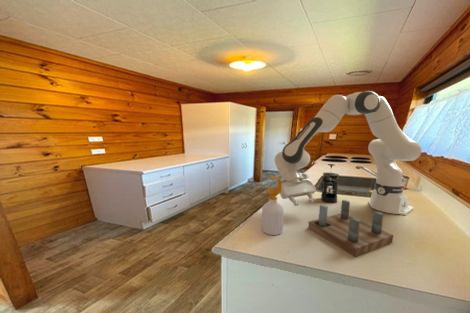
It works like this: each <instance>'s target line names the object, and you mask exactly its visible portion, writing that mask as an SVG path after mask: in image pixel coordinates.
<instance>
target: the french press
mask: <svg viewBox="0 0 470 313" xmlns="http://www.w3.org/2000/svg"><path fill="white" fill-rule="evenodd" d="M327 165H328V166H329V167H330V169H332V168H333V166H336V164H333V163H328V164H327ZM322 176H323V178H324V177H329V179H324V180H323V179H322V181H321V184H322V187H321V195H320V196H321V197H320V201H322V202H323V203H327V204H337V203H338V186H339V181H337V180H338V179H339V176H340V174H338V173H334V172H323V173H322ZM331 179H332V180H331ZM331 187H332V188H331Z"/></svg>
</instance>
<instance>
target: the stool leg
mask: <svg viewBox="0 0 470 313" xmlns="http://www.w3.org/2000/svg"><path fill="white" fill-rule="evenodd" d="M328 210H329V207H328V206H327V205H325V204H320V205H319V210H318V211H319V214H318V219H319V226H321V227H323V228H324V227H327V217H328V213H329V212H328Z"/></svg>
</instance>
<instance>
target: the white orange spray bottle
mask: <svg viewBox="0 0 470 313" xmlns="http://www.w3.org/2000/svg"><path fill="white" fill-rule="evenodd" d="M269 177H270V178H271V179H275V180H277V182H278V186H276V187H277V188H276V189H267V190H266V192H267V193H268V194H269V195H270V196H269V197H268V202H266V203H264V204H263V206H262V208H261V231H262V232H263V233H264V234H267V235H270V236H277V235H280V234H283V231H284V212H285V211H284V207H283V206H282V205H281V204H280V203H278V198H277V196H276V195H277V194H280V192H281V187H282V181H283V180H281V178H279V177H278V176H275V175H272V174H269Z"/></svg>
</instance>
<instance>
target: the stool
mask: <svg viewBox="0 0 470 313" xmlns="http://www.w3.org/2000/svg"><path fill="white" fill-rule="evenodd" d="M350 203H351V202H350V200H346V199H345V200H344V199H343V200H341V206H340V207H341V208H340V213H338V214H334V215H331V216H330V215H329V216H327V227H324V228H323V227H321V226H319V218H318V219H314V220H309V221H308V229H309V230H311V231H312V232H315V234H318V235H319V236H321V237H323V238H324V239H325V240H328V241H329V242H330V243H332V244H334V245H335V246H338V247H339V248H340V249H342V250H344V251H345V252H347V253H349V254H350V255H353V257H358V256H360V255H364V254H366V253H368V252H371V251H374V250H376V249H379V248H381V247H385V246H386V245H389V244H391V243H393V242H394V241H393V240H394V234H393V233H389V232H387V231H385V230H382V229H383V223H384V222H383V221H384V220H383V218H384V213H383V212H381V211H372V220H371V221H372V223H371V225H370V224H369V223H367V222H364V221H363V220H360V219H358V218H355V217H352V216H350V215H349V214H350V205H351V204H350Z"/></svg>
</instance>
